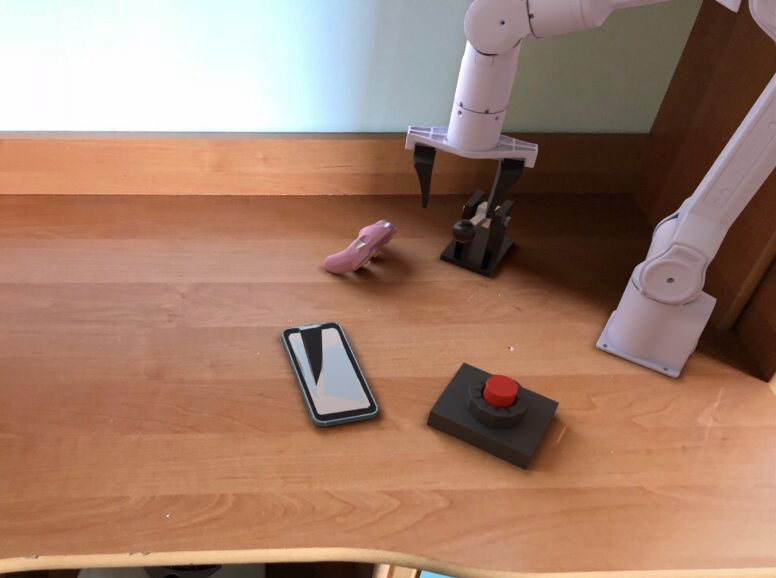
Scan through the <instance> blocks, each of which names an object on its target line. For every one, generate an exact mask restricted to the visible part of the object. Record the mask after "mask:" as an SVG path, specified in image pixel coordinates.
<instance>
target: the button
mask: <svg viewBox="0 0 776 578" xmlns="http://www.w3.org/2000/svg"><path fill="white" fill-rule="evenodd" d="M493 375H494V376H492V377H490V378H489V379H488V380H487V382H486V386H485V389H484V392H483V397H484V399H485V401H486V402H487V403H488V404H490V405H492V406H494V407H497V408H507V407H509V406H511V405H512V404H513V402H514V400H515V397H516V394H517V391H518V386H517V384H516V382H515V381H516V380H515V379H513V378H511V377H509V376H506V375H503V374H493ZM512 379H513V380H512ZM514 380H515V381H514Z"/></svg>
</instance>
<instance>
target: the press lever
mask: <svg viewBox="0 0 776 578" xmlns="http://www.w3.org/2000/svg"><path fill="white" fill-rule="evenodd" d="M487 203H488V201H483V202H482V204H480V205H479V206H478V208H477V211H476V214H475V217H474V218H472V219H471V220H461V219H459V220H457V222H455V223H454V225H453V226H452V230H451V233H452V237H453V239H455V240H456V241H458V242H460V243H467V242H469V241H471V240H472V239H473V238H474V236H475V234H476V229H478V228H479V227H480V228H484V229H487V230H488V229H489V230H490V229H491V226H492V222H493V219H494V215H495V214H496V212H497V211H498V210H499V209H500V207H501V206H500V205H498V206H497V208H496V209H495V211H494V213H493V215H492V218H491V219H489V218H485V216H486V208H487Z"/></svg>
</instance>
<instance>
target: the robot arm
mask: <svg viewBox="0 0 776 578" xmlns="http://www.w3.org/2000/svg"><path fill="white" fill-rule="evenodd" d="M670 1H672V0H473V1H472V3H471V4H470V6H469V7H468V9H467V10H466V13H465V16H464V19H463V30H464V35H465V37H466V45H465V49H464V55H463V56H462V58H461V64H460V69H459V72H458V73H459V75H458V79H457V83H456V90H455V93H454V99H453V104H452V109H451V114H450V119H449V124H448V126H413V125H409V126H408V129H407V133H406V140H405V146H404V149H405V150H410V151H413V155H412V164H413V167H414V169H415V172H416V175H417V178H418V183H419V187H420V195H421V196H420V197H421V205H420V207H421V209H426V210H427V209H428V204H429V199H430V194H431V187H432V178H433V177H432V176H433V170H434V164H435V160H436V155H437V151H438V152H443V153H451V154H453V155H456V156H460V157H463V158H467V159H475V160H477V159H478V160H479V159H489V160H490V159H491V160H497V161H498V165H497V166H498V167H497V170H496V174H495V178H494V182H493V184H492V188H491V191H490V194H489V196H488V200H487V202H488V203H487V208H486V216H485V218H489V219H491V218H492V215H493V213H494V211H495V209H496V208H497V206H499V204H500V203H501V201H503V199H504V197H505V196H506V195H507V193H508V192H509V191H510V190H511V189H513V187H514V186H515V185H516V184H517V183H518V182H519V181H520V180H521V178H522V176H523V172H524V167H525V168H531V169H533V168H534V166H535V164H536V161H537V157H538V152H539V144H537V143H532V142H527V141H523V140H521V139H517V138H514V137H510V136H507V135H504V134H502V129H503V125H504V120H505V117H506V112H507V108H508V104H509V101H510V97H511V92H512V90H513V85H514V81H515V77H516V73H517V69H518V65H519V63H518V62H519V61H518V59H519V55H520V51H521V47H522V43H523V40H524V39H525V40H530V41H531V40H532V41H533V40H539V39H544V38H549V37H553V36H559V35H565V34H569V33H574V32H579V31H584V30H589V29H595V28H598V27H600V26H601V25H603V23H604V22H605V21H606V20H607V18H608V17H609V15H610V14H611V13H612V12H613V11H615V10H620V9H621V10H622V9H626V8H633V7H640V6H646V5H652V4H659V3H664V2H670ZM715 1H716V2H717V3H718V4H721V6H724V7H725V8H727V9H729V10H730V11H732V12H735V13H738V12H739V9H740V6H741V3H742V0H715ZM748 10H749V12H750V14H751V17H752V19H753V20H754V21H755V23H756V24H757V25H758V27H759V28H760V29H761V30H762V31H763V32H764V33H765V34H766V35H767V36H768V37H769V38H770V39H772V41H774V42H775V44H776V0H748ZM775 168H776V72H775V73H774V74H773V76H772V77H771V79H770V80H769V82H768V83H767V85H766V86H765V88H764V89H763V91H762V92H761V94H760V95H759V97H758V98H757V100H756V101H755V102H754V104H753V105H752V107H751V108H750V110H749V111H748V113H747V114H746V116H745V117H744V119H743V120H742V121H741V123H740V125H739V126H738V127H737V129H736V130H735V132H734V133H733V135H732V136H731V137H730V138H729V141H727V144H726V145H725V147H723V149H722V150H721V152H720V153H719V155H718V157H717V158H716V160H714V162H713V164H712V166H711V167H710V169H709V170H708V171H707V173H706V174H705V176H704V177H703V179H701V182H700V183H699V185H698V186H697V188H696V189H695V190H694V192H693V193H692V195H691V196H689V197H688V198H686V199H685V200H684V201H683V202H682V204H681V205H680V207H679V208H678V209H677V210H676V211H675V212H674V213H672V214H671V215H669V216H667V217H665V218H663V219H662V220H661V221H660V222H658V224H657V225H656V227H655V229H654V230H653V232H652V237H651V243H650V246H649V249H648V252H647V255H646V257H645V260H644V261H642V262H640V263H639V264H637V265H636V266H635V268H634V269H633V271H632V274H631V276H630V277H629V279H628V283H627V285H626V287H625V289H624V292H623V294H622V296H621V299H620V301H619V303H618V305H617V308H616V310H613V311H612V313H611V315H610V317H609V318H608V321H607V323H606V325H605V326H604V328H603V330H602V332H601V334H600V336H599V338H598V340H597V342H596V344H595V347H596V348H597V349H599V350H601V351H603V352H605V353H608V354H611V355H614V356H617V357H619V358H621V359H624V360H627V361H629V362H632V363H634V364H637V365H640V366H642V367H645V368H648V369H649V370H652V371H655V372H658V373H660V374H663V375H665V376H668V377H671V378H673V379H677V378H678V377H679V376H680V373H681V371H682V369H683V367H684V366H685V364H686V362H687V361H688V358H689V357H690V355H693V353H694V351H695V350H696V348H697V346H698V343H699V339H700V337H701V335H702V333H703V331H704V329H705V327H706V326H707V323H708V321H709V319H710V317H711V315H712V313H713V311H714V308H715V306H716V303H717V298H716V297H714V296H712V295H710V294H708V293H706V292H705V291H703V288H704V285H705V282H706V281H705V280H706V272H707V270H708V267H709V265H710V264H711V262H712V261H713V260H714V258H715V256H717V253H718V251H719V249H720V247H721V245H722V243H723V241H724V239H725V237H726V235H727V234H728V233H727V232H728V231H729V230H730V228H731V227H732V225H733V224H734V222H735V221H736V220H737V218H738V217H739V216H740V214H741V213H742V212H743V211H744V210H745V208H746V206H747V205H748V204H749V202H750V201H751V200H752V198H754V196H755V195H756V193H757V192H758V191H759V190H760V188H761V186H762V185H763V184H764V183H765V181H766V180H767V179H768V177H769V176H770V175H771V173H772V172H773V170H774V169H775Z"/></svg>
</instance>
